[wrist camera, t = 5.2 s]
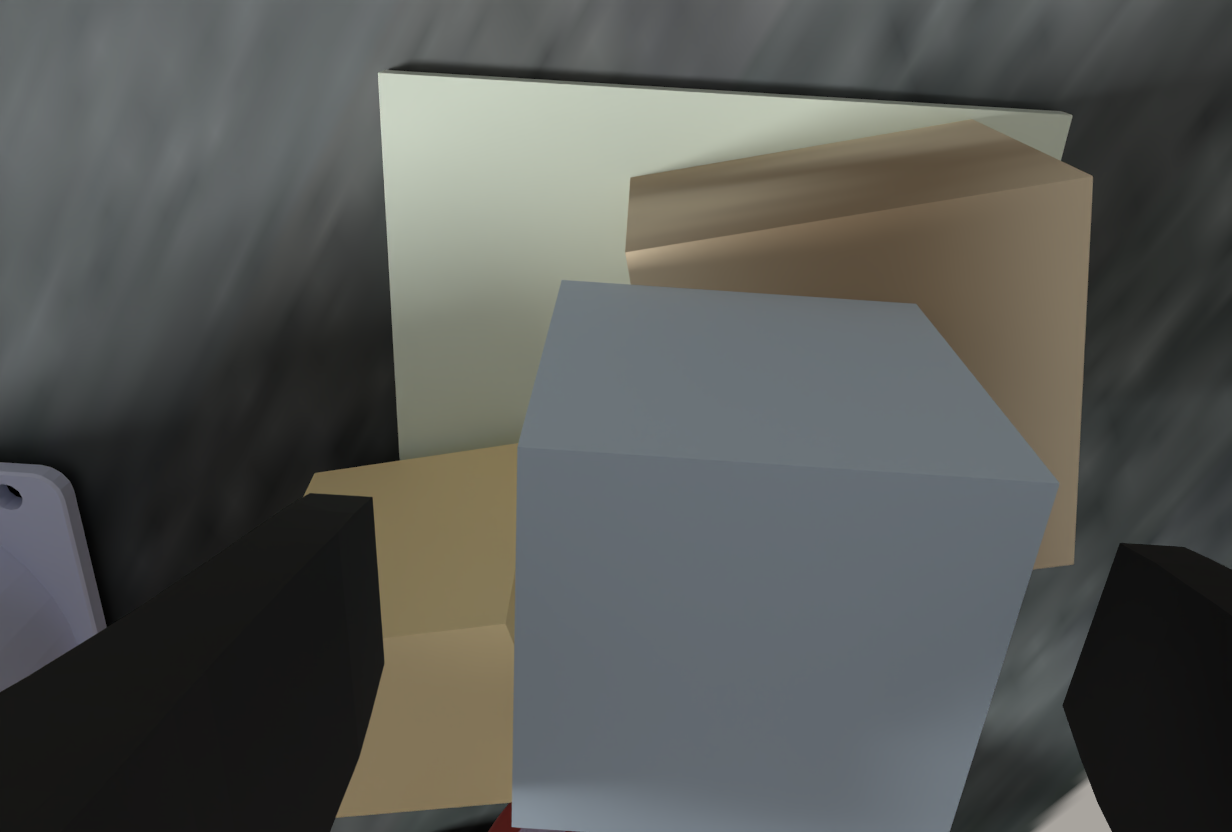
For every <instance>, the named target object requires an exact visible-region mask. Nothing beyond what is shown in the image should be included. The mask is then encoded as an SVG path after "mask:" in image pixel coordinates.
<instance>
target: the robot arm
mask: <svg viewBox="0 0 1232 832" xmlns="http://www.w3.org/2000/svg"><path fill="white" fill-rule="evenodd" d="M6 485H9V486H12V487H13V488H15V489H16V490H17V491H19V493H20V495H21V497H22V498H21V497H17V496H15V495H14V494H13V493H11V492H10V491H9V489H8V487H7V486H6ZM384 664H385V662H384V648H383V634H382V620H381V606H380V592H379V578H378V565H377V551H376V537H375V523H374V509H373V497H366V496H350V495H334V494H317V493H309V494H307V495H306V496H304V497H302V498H301V499H299V500H297V501H296V502H294V503H293V504H291V505H289V506H288V507H286V508H285V509H283V510H282V511H280V512H279V513H277V514H276V515H274V516H273V517H271V518H270V519H269V520H267V521H266V522H264V523H263V524H261V525H260V526H258V527H257V528H255V529H254V530H253V531H251V532H250V533H248V534H247V535H245V536H244V537H242V538H241V539H240V540H238V541H237V542H235V543H234V544H232V545H231V546H229V547H228V548H227V549H225V550H224V551H222V552H221V553H219V554H218V555H216V556H215V557H213V558H212V559H211V560H209V561H208V562H206V563H205V564H203V565H202V566H200V567H199V568H197V569H196V570H194V571H193V572H191V573H190V574H188V575H187V576H185V577H184V578H182V579H181V580H179V581H178V582H176V583H175V584H174V585H172V586H171V587H169V588H168V589H166V590H165V591H163V592H162V593H160V594H159V595H157V596H156V597H154V598H153V599H151V600H150V601H148V602H147V603H145V604H144V605H142V606H141V607H139V608H138V609H136V610H134V611H133V612H131V613H129V614H128V615H126V616H125V617H123V618H121V619H120V620H118V621H117V622H115V623H113V624H112V625H110V626H108V627H107V626H106V622H105V618H104V613H103V609H102V605H101V601H100V597H99V592H98V588H97V584H96V580H95V576H94V571H93V567H92V563H91V559H90V555H89V550H88V546H87V542H86V538H85V534H84V529H83V525H82V521H81V517H80V513H79V508H78V504H77V500H76V496H75V492H74V489H73V487H72V485H71V482H70V481H69V480H68V479H67V478H66V477H65V476H64V475H63V474H62V473H61V472H59V471H57V470H56V469H54V468H52V467H48V466H44V465H36V464H19V463H3V462H0V832H330V830H331V827H332V825H333V822H334V820H335V817H336V815H337V813H338V810H339V808H340V805H341V803H342V800H343V798H344V795H345V793H346V790H347V788H348V785H349V783H350V780H351V778H352V775H353V772H354V770H355V767H356V765H357V762H358V760H359V757H360V753H361V750H362V746H363V743H364V739H365V736H366V732H367V728H368V725H369V721H370V718H371V714H372V710H373V706H374V702H375V699H376V695H377V691H378V687H379V683H380V679H381V675H382V671H383V668H384ZM1063 708H1064V711H1065V714H1066V717H1067V720H1068V723H1069V726H1070V728H1071V731H1072V734H1073V737H1074V740H1075V743H1076V746H1077V749H1078V752H1079V755H1080V758H1081V761H1082V763H1083V766H1084V768H1085V771H1086V774H1087V776H1088V779H1089V781H1090V784H1091V786H1092V789H1093V792H1094V794H1095V797H1096V800H1097V802H1098V804H1099V806H1100V808H1101V810H1102V812H1103V814H1104V817H1105V818H1106V821H1107V823H1108V825H1109V827H1110V828H1111V831H1112V832H1232V570H1231V569H1229V568H1227V567H1225V566H1223V565H1221V564H1219V563H1217V562H1215V561H1213V560H1211V559H1209V558H1207V557H1205V556H1203V555H1200V554H1198V553H1196V552H1194V551H1192V550H1189V549H1187V548H1185V547H1176V546H1160V545H1143V544H1127V543H1120V544H1119V547H1118V550H1117V553H1116V556H1115V559H1114V561H1113V564H1112V567H1111V570H1110V573H1109V575H1108V578H1107V581H1106V584H1105V587H1104V590H1103V592H1102V595H1101V598H1100V601H1099V604H1098V607H1097V609H1096V612H1095V615H1094V618H1093V621H1092V624H1091V626H1090V629H1089V632H1088V635H1087V638H1086V640H1085V643H1084V646H1083V649H1082V652H1081V655H1080V657H1079V660H1078V663H1077V666H1076V669H1075V672H1074V674H1073V677H1072V680H1071V683H1070V686H1069V689H1068V691H1067V694H1066V697H1065V700H1064V703H1063Z"/></svg>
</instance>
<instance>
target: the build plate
mask: <svg viewBox="0 0 1232 832" xmlns="http://www.w3.org/2000/svg"><path fill="white" fill-rule="evenodd" d="M378 83H379V101H380V119H381V137H382V154H383V172H384V190H385V208H386V226H387V244H388V262H389V279H390V297H391V315H392V333H393V351H394V369H395V387H396V404H397V422H398V440H399V458H400V460H407V459H414V458H420V457H427V456H434V455H441V454H448V453H454V452H461V451H468V450H475V449H482V448H488V447H495V446H502V445H509V444H516V443H519V439H520V435H521V431H522V428H523V424H524V420H525V416H526V413H527V409H528V405H529V401H530V398H531V394H532V390H533V386H534V382H535V379H536V375H537V371H538V367H539V364H540V360H541V356H542V352H543V349H544V345H545V341H546V337H547V333H548V330H549V326H550V322H551V318H552V315H553V311H554V307H555V303H556V300H557V296H558V292H559V288H560V285H561V281H562V280H570V281H585V282H600V283H615V284H630V285H631V283H630V277H629V272H628V266H627V260H626V255H625V247H626V233H627V218H628V204H629V190H630V178H631V177H636V176H642V175H648V174H654V173H660V172H666V171H671V170H677V169H683V168H689V167H695V166H701V165H707V164H712V163H718V162H724V161H730V160H736V159H742V158H748V157H753V156H759V155H765V154H771V153H777V152H783V151H788V150H794V149H800V148H806V147H812V146H818V145H824V144H829V143H835V142H841V141H847V140H853V139H859V138H864V137H870V136H876V135H882V134H888V133H894V132H900V131H905V130H911V129H917V128H923V127H929V126H935V125H940V124H946V123H952V122H958V121H964V120H970V119H973V120H975V121H977V122H979V123H982V124H984V125H986V126H988V127H990V128H992V129H994V130H996V131H998V132H1001V133H1003V134H1005V135H1007V136H1009V137H1011V138H1013V139H1015V140H1018V141H1020V142H1022V143H1024V144H1026V145H1028V146H1030V147H1032V148H1035V149H1037V150H1039V151H1041V152H1043V153H1045V154H1047V155H1049V156H1051V157H1054V158H1056V159H1058V160H1060V161H1061V158H1062V154H1063V151H1064V147H1065V143H1066V139H1067V135H1068V132H1069V128H1070V124H1071V120H1072V116H1073V115H1071V114H1068V113H1065V112H1062V111H1050V110H1034V109H1017V108H1001V107H984V106H968V105H952V104H935V103H919V102H902V101H886V100H870V99H853V98H837V97H821V96H804V95H788V94H771V93H755V92H739V91H722V90H706V89H689V88H673V87H657V86H640V85H624V84H607V83H591V82H575V81H558V80H542V79H526V78H509V77H493V76H476V75H460V74H444V73H427V72H411V71H394V70H384V71H381V72H379V73H378Z"/></svg>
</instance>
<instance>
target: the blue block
mask: <svg viewBox="0 0 1232 832" xmlns="http://www.w3.org/2000/svg"><path fill="white" fill-rule="evenodd" d="M1059 484H1060V483H1059V482H1058V480H1057V479H1056V478H1055V477H1054V475H1053V474H1052V473H1051V472H1050V470H1049V469H1048V468H1047V467H1046V465H1045V464H1044V463H1043V462H1042V460H1041V459H1040V458H1039V457H1038V455H1037V454H1036V453H1035V452H1034V450H1033V449H1032V448H1031V447H1030V445H1029V444H1028V443H1027V442H1026V440H1025V439H1024V438H1023V437H1022V435H1021V434H1020V433H1019V432H1018V430H1017V429H1016V428H1015V427H1014V425H1013V424H1012V423H1011V422H1010V420H1009V419H1008V418H1007V417H1006V415H1005V414H1004V413H1003V412H1002V410H1001V409H1000V408H999V407H998V405H997V404H996V403H995V402H994V400H993V399H992V398H991V397H990V395H989V394H988V393H987V392H986V390H985V389H984V388H983V387H982V385H981V384H980V383H979V382H978V380H977V379H976V378H975V377H974V375H973V374H972V373H971V372H970V370H969V369H968V368H967V367H966V365H965V364H964V363H963V362H962V360H961V359H960V358H959V357H958V355H957V354H956V353H955V352H954V350H953V349H952V348H951V347H950V345H949V344H948V343H947V342H946V340H945V339H944V338H943V337H942V335H941V334H940V333H939V332H938V330H937V329H936V328H935V327H934V325H933V324H932V323H931V322H930V320H929V319H928V318H927V317H926V315H925V314H924V313H923V312H922V310H921V309H920V308H919V307H918V305H917V304H912V303H897V302H882V301H867V300H852V299H837V298H823V297H808V296H793V295H778V294H763V293H748V292H733V291H719V290H704V289H689V288H674V287H659V286H644V285H630V284H615V283H600V282H585V281H570V280H562V281H561V285H560V288H559V292H558V296H557V300H556V303H555V307H554V311H553V315H552V318H551V322H550V326H549V330H548V333H547V337H546V341H545V345H544V349H543V352H542V356H541V360H540V364H539V367H538V371H537V375H536V379H535V382H534V386H533V390H532V394H531V398H530V401H529V405H528V409H527V413H526V416H525V420H524V424H523V428H522V431H521V435H520V439H519V443H518V447H517V505H516V570H515V635H514V701H513V766H512V827H517V828H532V829H547V830H562V831H577V832H950V829H951V826H952V823H953V820H954V817H955V813H956V810H957V807H958V804H959V801H960V798H961V794H962V791H963V788H964V785H965V782H966V779H967V775H968V772H969V769H970V766H971V763H972V760H973V756H974V753H975V750H976V747H977V744H978V741H979V737H980V734H981V731H982V728H983V725H984V722H985V718H986V715H987V712H988V709H989V706H990V703H991V700H992V696H993V693H994V690H995V687H996V684H997V681H998V677H999V674H1000V671H1001V668H1002V665H1003V662H1004V658H1005V655H1006V652H1007V649H1008V646H1009V643H1010V639H1011V636H1012V633H1013V630H1014V627H1015V624H1016V620H1017V617H1018V614H1019V611H1020V608H1021V605H1022V601H1023V598H1024V595H1025V592H1026V589H1027V586H1028V582H1029V579H1030V576H1031V573H1032V570H1033V567H1034V563H1035V560H1036V557H1037V554H1038V551H1039V548H1040V544H1041V541H1042V538H1043V535H1044V532H1045V529H1046V525H1047V522H1048V519H1049V516H1050V513H1051V510H1052V506H1053V503H1054V500H1055V497H1056V494H1057V491H1058V488H1059Z"/></svg>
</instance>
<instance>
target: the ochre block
mask: <svg viewBox="0 0 1232 832" xmlns="http://www.w3.org/2000/svg"><path fill="white" fill-rule="evenodd" d="M517 447H518V443H516V444H509V445H502V446H495V447H488V448H482V449H475V450H468V451H461V452H454V453H448V454H441V455H434V456H427V457H420V458H414V459H407V460H400V461H393V462H386V463H380V464H373V465H366V466H359V467H352V468H346V469H339V470H332V471H325V472H318V473H314V476H313V478H312V480H311V482H310V484H309V486H308V488H307V490H306V492H305V494H304V496H306V495H307V494H309V493H317V494H334V495H350V496H366V497H373V509H374V523H375V537H376V551H377V565H378V578H379V592H380V606H381V620H382V634H383V648H384V662H385V664H384V668H383V671H382V675H381V679H380V683H379V687H378V691H377V695H376V699H375V702H374V706H373V710H372V714H371V718H370V721H369V725H368V728H367V732H366V736H365V739H364V743H363V746H362V750H361V753H360V757H359V760H358V762H357V765H356V767H355V770H354V772H353V775H352V778H351V780H350V783H349V785H348V788H347V790H346V793H345V795H344V798H343V800H342V803H341V805H340V808H339V810H338V813H337V815H336V818H339V817H350V816H362V815H373V814H385V813H396V812H408V811H419V810H431V809H442V808H454V807H465V806H477V805H488V804H500V803H511V802H512V766H513V701H514V635H515V570H516V505H517ZM304 496H303V497H304Z"/></svg>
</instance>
